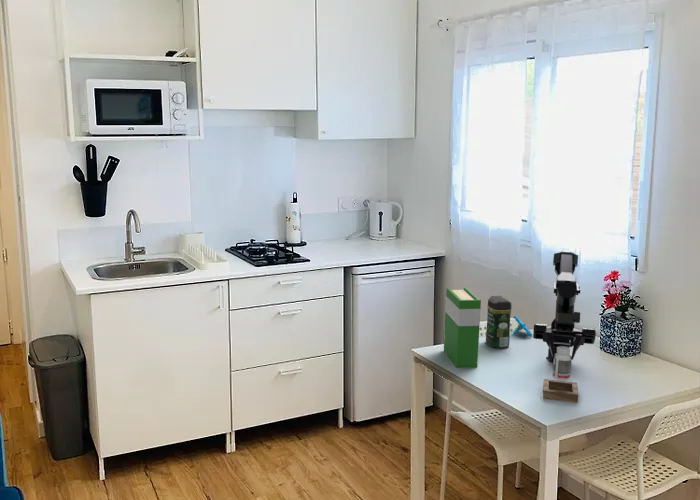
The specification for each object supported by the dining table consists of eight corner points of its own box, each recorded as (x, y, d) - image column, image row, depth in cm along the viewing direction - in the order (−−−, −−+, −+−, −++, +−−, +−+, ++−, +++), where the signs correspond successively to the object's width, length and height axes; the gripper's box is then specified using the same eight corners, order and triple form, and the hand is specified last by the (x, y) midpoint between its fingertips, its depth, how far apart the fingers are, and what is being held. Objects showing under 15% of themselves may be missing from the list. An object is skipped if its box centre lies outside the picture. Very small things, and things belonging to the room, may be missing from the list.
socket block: (542, 387, 234) (543, 378, 233) (576, 391, 231) (577, 382, 231) (542, 399, 224) (543, 390, 223) (577, 403, 221) (578, 394, 221)
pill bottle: (573, 378, 226) (575, 348, 224) (564, 382, 223) (566, 352, 221) (558, 373, 230) (560, 344, 228) (548, 377, 227) (551, 347, 225)
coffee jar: (482, 341, 278) (485, 294, 275) (502, 340, 280) (504, 293, 276) (491, 349, 269) (494, 301, 265) (512, 348, 270) (515, 300, 267)
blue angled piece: (534, 335, 281) (516, 316, 282) (522, 345, 282) (505, 326, 283) (532, 331, 292) (515, 312, 292) (521, 340, 293) (504, 322, 293)
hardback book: (443, 350, 266) (446, 287, 262) (463, 350, 267) (466, 287, 263) (456, 367, 249) (459, 300, 244) (477, 367, 250) (480, 300, 245)
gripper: (535, 299, 228) (532, 343, 220) (597, 304, 223) (597, 349, 215) (534, 316, 237) (531, 359, 229) (594, 321, 232) (593, 365, 224)
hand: (562, 358), depth 224 cm, fingers closed on pill bottle, 5 cm apart
